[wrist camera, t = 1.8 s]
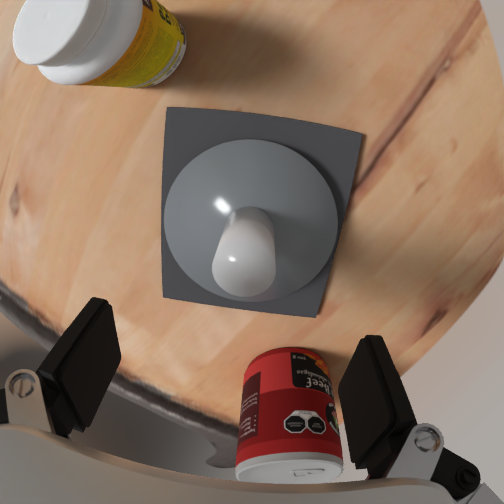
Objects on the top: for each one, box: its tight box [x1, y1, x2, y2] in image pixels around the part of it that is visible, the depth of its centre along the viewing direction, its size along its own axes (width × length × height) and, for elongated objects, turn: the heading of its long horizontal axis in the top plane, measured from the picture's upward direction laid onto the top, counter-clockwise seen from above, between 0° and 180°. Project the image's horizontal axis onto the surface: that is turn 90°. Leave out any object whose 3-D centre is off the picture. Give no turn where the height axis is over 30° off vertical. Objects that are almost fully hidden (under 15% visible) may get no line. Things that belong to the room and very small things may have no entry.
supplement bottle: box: [13, 0, 186, 88], centre depth 10 cm, size 6×6×10 cm
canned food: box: [236, 347, 343, 484], centre depth 22 cm, size 8×8×11 cm
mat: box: [161, 107, 362, 318], centre depth 20 cm, size 14×12×1 cm
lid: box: [164, 138, 338, 302], centre depth 17 cm, size 11×11×6 cm
